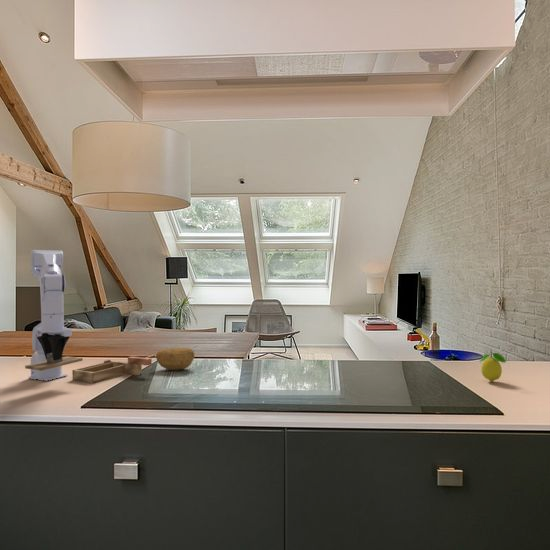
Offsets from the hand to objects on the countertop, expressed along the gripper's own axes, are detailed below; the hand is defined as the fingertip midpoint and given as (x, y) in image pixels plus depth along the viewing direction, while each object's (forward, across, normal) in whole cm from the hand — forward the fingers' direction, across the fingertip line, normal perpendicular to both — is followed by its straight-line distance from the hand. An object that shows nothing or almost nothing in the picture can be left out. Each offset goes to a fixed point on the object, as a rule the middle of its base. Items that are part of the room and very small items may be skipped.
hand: (53, 359), depth 124 cm
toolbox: (+9, -2, -18) cm, 21 cm away
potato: (+9, -16, -36) cm, 40 cm away
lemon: (+9, -117, -64) cm, 134 cm away
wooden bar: (+5, -10, -25) cm, 27 cm away
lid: (+2, 0, 0) cm, 2 cm away
